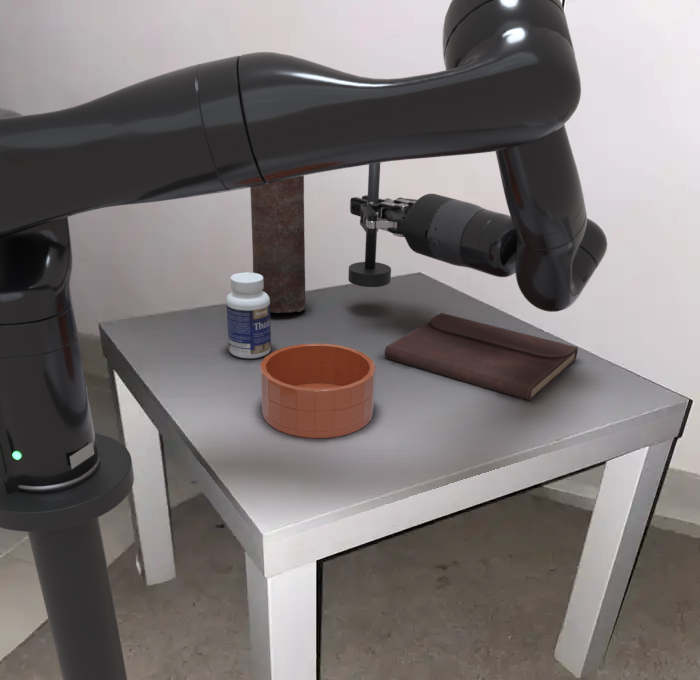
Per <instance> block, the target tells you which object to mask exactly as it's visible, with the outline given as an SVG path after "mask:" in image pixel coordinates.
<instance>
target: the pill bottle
mask: <svg viewBox="0 0 700 680" xmlns="http://www.w3.org/2000/svg"><path fill="white" fill-rule="evenodd" d="M263 288H264V281H263V276H262V275H260V274H257V273H253V272H251V271H245V272H238V273H234V274H232V275H231V276H230V289H231V290H232V291H231V292H230V293H228V295H227V296H226V297H225V300H226V301H225V305H226V306H225V307H226V320H227V321H226V323H227V343H228V350H229V353H230V354H231V355H233V356H235V357H236V358H240V359H249V360H250V359H258V358H263V357H266V356H268V355H269V354H270V352H271V350H272V335H271V334H272V333H271V332H272V331H271V312H270V299H269V296H268V295H267V294H266V293H265V292H264V291H262V290H263Z"/></svg>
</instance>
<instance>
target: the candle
mask: <svg viewBox="0 0 700 680" xmlns="http://www.w3.org/2000/svg"><path fill="white" fill-rule="evenodd" d="M249 189H250V190H249V191H250V215H251V243H252V244H251V245H252V246H251V247H252V273H257V274H260V275H262V276H263V281H264V288H263V290H262V291H264V292H265V293H266V294H267V295H268V296H269V299H270V313H274V314H287V313H294V312H295V313H296V312H302V311H303V310H306V258H305V257H306V248H305V246H306V245H305V242H306V241H305V238H306V237H305V175H303V176H299V177H294V178H290V179H286V180H282V181H278V182H274V183H270V184H268V183H267V184H265V185H259V186H254V187H249Z"/></svg>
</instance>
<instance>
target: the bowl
mask: <svg viewBox="0 0 700 680" xmlns="http://www.w3.org/2000/svg"><path fill="white" fill-rule="evenodd" d="M259 366H260V392H261V393H260V396H261V409H262V412H261V413H262V417H263V419H264V420H265V422H266V423H267V424H268V425H269V426H271V427H272V428H273V429H275V430H277V431H279V432H281V433H284V434H287V435H291V436H295V437H299V438H305V439H306V438H308V439H330V438H337V437H343V436H346V435H350V434H353V433H355V432H357V431H359V430H361V429H362V428H364V427H365V426H367V425H368V424H369V423H370V421H371V420H372V418H373V414H374V407H375V387H376V371H377V370H376V366H375V363H374V361H373V359H371V358H370V357H369V356H368V355H367V354H366V353H364V352H362V351H359V350H357V349H355V348H352V347H348V346H345V345H340V344H331V343H320V342H319V343H301V344H295V345H289V346H286V347H282V348H279V349H276V350H274V351H272V352H271V353H268V354H267V355H265V356H264V358H263V359H262V361H261V362H260V365H259Z"/></svg>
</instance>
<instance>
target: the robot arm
mask: <svg viewBox="0 0 700 680" xmlns="http://www.w3.org/2000/svg"><path fill="white" fill-rule="evenodd" d="M568 24H569V23H568V22H567V17H566V14H565V11H564V7H563V4H562V2H561V0H451V2H450V3H449V6H448V9H447V10H446V13H445V16H444V21H443V26H442V45H441V47H442V58H443V64H444V67H445V68H444V69H445V70H442V71H437V72H431V73H425V74H419V75H412V76H405V77H399V78H398V77H395V78H375V77H374V78H373V77H367V76H360V75H356V74H352V73H349V72H345V71H342V70H338V69H336V68H333V67H330V66H327V65H323V64H321V63H318V62H315V61H312V60H308V59H305V58H301V57H297V56H293V55H290V54H285V53H279V52H272V51H258V52H250V53H249V52H248V53H244V54H241V55H234V56H229V57H225V58H221V59H215V60H211V61H206V62H201V63H196V64H193V65H189V66H186V67H182V68H178V69H175V70H172V71H168V72H165V73H162V74H160V75H156V76H153V77H150V78H147V79H144V80H141V81H137V82H136V83H133V84H130V85H128V86H125V87H122V88H119V89H118V90H115V91H112V92H110V93H107V94H105V95H103V96H99V97H97V98H94V99H92V100H90V101H87V102H84V103H81V104H78V105H74V106H72V107H67V108H63V109H59V110H54V111H48V112H41V113H33V114H25V115H23V114H21V113H20V112H17V111H15V110H11V109H8V108H3V107H0V477H2V479H3V481H4V484H5V488H6V492H7V493H8V494H11V493H15V492H24V493H33V494H43V493H53V492H58V491H63V490H66V489H70V488H73V487H75V486H78V485H80V484H82V483H84V482H85V481H87V480H88V479H90V478H91V477H92V476H93V475H94V474H95V473H96V472H97V471H98V469H99V467H100V457H99V453H98V451H97V443H96V440H95V434H94V433H95V428H94V422H93V417H92V410H91V405H90V398H89V392H88V387H87V380H86V375H85V368H84V363H83V358H82V351H81V350H82V349H81V345H80V339H79V334H78V328H77V327H78V326H77V320H76V315H75V309H74V304H73V299H72V298H73V297H72V291H71V279H72V272H73V271H72V270H73V247H72V239H71V231H70V223H69V217H72V216H75V215H78V214H82V213H87V212H90V211H95V210H99V209H103V208H104V209H105V208H110V207H111V208H112V207H118V206H127V205H139V204H148V203H155V202H156V203H157V202H164V201H172V200H180V199H187V198H192V197H200V196H206V195H214V194H220V193H226V192H233V191H239V190H244V189H248V188H249V189H250V187H254V186H259V185H265V184H267V183H268V184H270V183H274V182H278V181H282V180H286V179H290V178H294V177H299V176H303V175H304V176H307V175H314V174H320V173H325V172H326V173H327V172H330V171H337V170H342V169H348V168H355V167H361V166H367V165H368V166H369V164H374V163H380V164H382V163H388V162H396V161H406V160H416V159H417V160H418V159H428V158H429V159H430V158H441V157H452V156H464V155H473V154H474V155H476V154H484V153H492V152H494V153H495V155H496V160H497V165H498V171H499V175H500V180H501V185H502V189H503V194H504V198H505V202H506V205H507V210H508V212H509V214H510V215H509V214H506V213H502V212H498V211H494V210H491V209H487V208H484V207H482V206H480V205H478V204H475V203H472V202H469V201H463V200H461V199H457V198H452V197H448V196H445V195H441V194H437V193H427V194H424V195H422V196H420V197H419V198H418V199H415V198H404V197H397V198H396V199H392V198H390V197H386V198H384V199H383V198H380V197H379V202H378V203H376V202H374V201H368V194H365V195H362V196H361V197H358V196H355V197H354V196H353V197H350V202H349V213H350V214H351V215H353V216H357V217H360V219H359V225H360V226H361V228H362V229H363V230H364V232H365V234H366V233H367V234H369V235H375V234H376V232H377V233H378V232H379V230H381V231H385V232H389V233H390V234H392V235H393V236H396V237H399V238H404V239H405V241H406V243H407V245H408V247H409V248H410V250H411V251H413V252H414V253H416V254H419V255H421V256H425V257H428V258H431V259H433V260H437V261H440V262H443V263H446V264H448V265H449V264H450V265H452V266H456V267H462V268H468V269H472V270H474V271H477V272H480V273H484V274H487V275H490V276H493V277H497V278H508V277H511V276H513V275H515V279H516V284H517V286H518V288H519V291H520V293H521V294H522V295H523V297H524V298H525V300H526V301H527V302H528V303H529V304H531V305H532V306H533V307H535V308H536V309H538V310H541V311H544V312H548V313H557V312H561V311H564V310H567V309H568V308H570V307H571V306H573V304H574V303H576V301H577V300H578V299H579V297H580V295H581V294H582V292H583V291H584V289H585V287H586V286H587V285H588V283H589V281H590V279H591V278H592V276H593V275H594V274H595V272H596V270H597V268H598V267H599V266H600V264H601V262H602V261H603V258H605V254H606V253H607V250H608V240H607V239H608V238H607V236H606V234H605V232H604V230H603V229H602V228H601V227H600V225H599V224H597V222H595V221H593V220H592V219H590V218H588V214H587V213H588V212H587V209H586V203H585V196H584V192H583V187H582V182H581V178H580V174H579V171H578V166H577V164H576V160H575V157H574V153H573V149H572V146H571V143H570V140H569V135H568V132H567V128H566V125H565V124H566V123H567V122H568V121H569V120H570V119H571V118H572V116H573V115H574V114H575V112H576V110H577V109H578V106H579V104H580V101H581V97H582V96H581V95H582V84H581V82H582V81H581V77H580V71H579V67H578V66H579V65H578V62H577V58H576V53H575V50H574V49H575V48H574V45H573V40H572V37H571V33H570V29H569V25H568ZM376 209H377V210H378V212H376Z"/></svg>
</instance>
